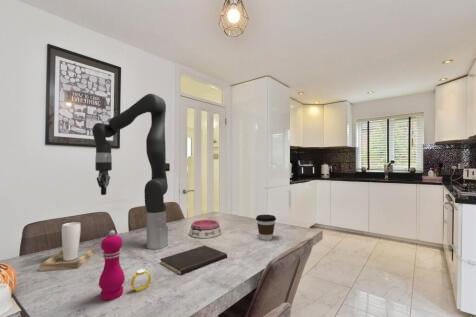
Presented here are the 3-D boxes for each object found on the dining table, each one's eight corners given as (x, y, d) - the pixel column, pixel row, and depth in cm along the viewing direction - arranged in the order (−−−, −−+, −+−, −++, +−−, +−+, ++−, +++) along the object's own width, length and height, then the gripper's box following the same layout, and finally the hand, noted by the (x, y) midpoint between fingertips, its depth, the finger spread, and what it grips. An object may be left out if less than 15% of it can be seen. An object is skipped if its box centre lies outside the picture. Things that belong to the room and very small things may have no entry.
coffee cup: (253, 240, 128) (253, 217, 129) (259, 235, 138) (259, 213, 139) (273, 243, 124) (273, 219, 124) (278, 237, 134) (278, 215, 135)
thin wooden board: (62, 255, 110) (62, 250, 110) (94, 253, 112) (94, 247, 113) (39, 271, 94) (39, 265, 94) (78, 268, 96) (78, 262, 96)
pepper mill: (105, 289, 80) (105, 227, 80) (128, 288, 80) (128, 227, 81) (94, 302, 72) (94, 234, 73) (119, 300, 73) (119, 233, 73)
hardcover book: (159, 264, 100) (159, 258, 100) (204, 250, 117) (204, 245, 117) (181, 277, 89) (181, 270, 89) (227, 259, 106) (227, 253, 106)
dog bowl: (227, 232, 145) (227, 220, 145) (207, 241, 129) (207, 228, 129) (203, 228, 155) (203, 217, 155) (182, 235, 139) (182, 223, 139)
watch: (133, 294, 77) (132, 275, 77) (130, 291, 79) (129, 273, 79) (152, 286, 81) (151, 269, 81) (149, 283, 83) (148, 266, 83)
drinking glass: (68, 262, 101) (69, 226, 102) (57, 260, 104) (58, 225, 104) (83, 257, 108) (84, 222, 108) (72, 255, 110) (73, 221, 111)
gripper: (107, 161, 122) (107, 196, 122) (115, 161, 135) (115, 193, 135) (90, 161, 121) (90, 196, 121) (100, 161, 134) (100, 193, 134)
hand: (103, 194), depth 128 cm, fingers closed
